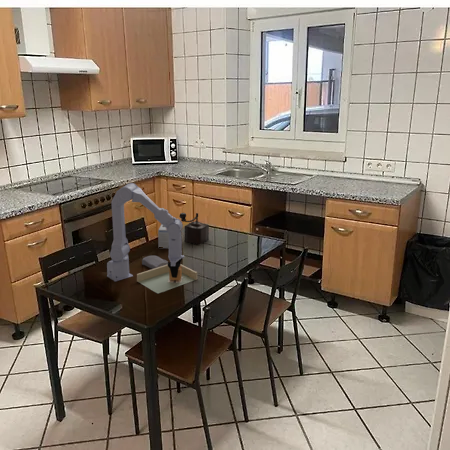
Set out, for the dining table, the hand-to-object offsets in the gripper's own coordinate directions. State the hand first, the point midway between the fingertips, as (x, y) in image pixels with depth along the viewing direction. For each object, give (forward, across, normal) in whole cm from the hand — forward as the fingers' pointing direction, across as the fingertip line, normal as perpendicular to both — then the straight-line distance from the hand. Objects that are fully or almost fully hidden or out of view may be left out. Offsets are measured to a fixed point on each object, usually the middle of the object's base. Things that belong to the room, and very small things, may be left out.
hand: (175, 274), depth 201 cm
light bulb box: (+3, +45, +11) cm, 47 cm away
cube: (+2, 0, 0) cm, 2 cm away
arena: (+3, -1, +4) cm, 5 cm away
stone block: (+4, +17, +12) cm, 21 cm away
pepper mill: (+3, +52, -4) cm, 52 cm away
